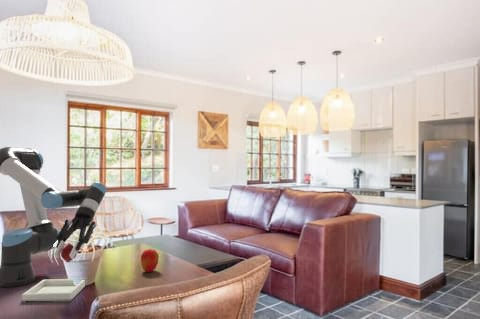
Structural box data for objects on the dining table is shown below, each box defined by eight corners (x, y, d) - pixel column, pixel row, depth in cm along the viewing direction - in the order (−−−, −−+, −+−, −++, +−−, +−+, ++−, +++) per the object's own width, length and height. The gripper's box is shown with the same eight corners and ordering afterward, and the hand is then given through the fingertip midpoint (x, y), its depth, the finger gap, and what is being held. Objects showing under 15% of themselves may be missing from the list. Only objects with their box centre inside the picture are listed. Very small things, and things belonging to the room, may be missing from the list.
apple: (153, 274, 166) (154, 250, 167) (136, 273, 168) (137, 249, 168) (161, 269, 175) (161, 246, 176) (145, 268, 177) (146, 245, 178)
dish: (21, 302, 129) (21, 294, 129) (43, 286, 147) (43, 279, 147) (70, 301, 131) (70, 293, 131) (85, 285, 149) (86, 278, 149)
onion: (78, 260, 140) (79, 241, 141) (72, 264, 135) (73, 244, 135) (64, 260, 140) (66, 241, 141) (57, 263, 135) (59, 244, 135)
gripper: (109, 217, 153) (88, 262, 136) (70, 214, 154) (45, 259, 137) (104, 207, 148) (82, 253, 131) (64, 204, 149) (37, 250, 132)
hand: (63, 256), depth 134 cm, fingers closed on onion, 6 cm apart
